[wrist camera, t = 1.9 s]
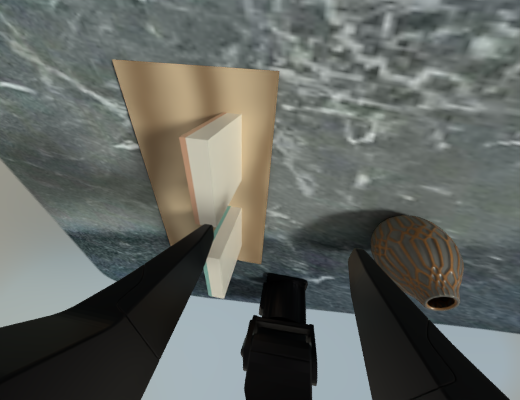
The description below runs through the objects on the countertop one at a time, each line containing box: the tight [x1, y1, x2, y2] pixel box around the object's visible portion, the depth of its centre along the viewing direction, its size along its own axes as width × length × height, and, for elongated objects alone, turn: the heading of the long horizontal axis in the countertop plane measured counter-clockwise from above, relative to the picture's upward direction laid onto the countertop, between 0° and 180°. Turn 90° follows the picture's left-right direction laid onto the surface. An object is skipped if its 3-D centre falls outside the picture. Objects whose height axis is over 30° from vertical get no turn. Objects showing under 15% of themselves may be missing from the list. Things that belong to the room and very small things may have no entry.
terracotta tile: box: [179, 112, 242, 227], centre depth 17 cm, size 2×7×8 cm, turn 177°
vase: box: [371, 215, 464, 311], centre depth 19 cm, size 7×7×9 cm
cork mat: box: [112, 60, 279, 264], centre depth 24 cm, size 15×25×1 cm, turn 177°
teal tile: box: [204, 206, 242, 299], centre depth 23 cm, size 2×7×8 cm, turn 177°
